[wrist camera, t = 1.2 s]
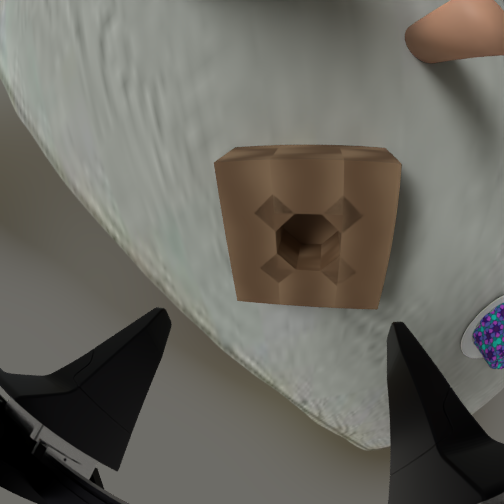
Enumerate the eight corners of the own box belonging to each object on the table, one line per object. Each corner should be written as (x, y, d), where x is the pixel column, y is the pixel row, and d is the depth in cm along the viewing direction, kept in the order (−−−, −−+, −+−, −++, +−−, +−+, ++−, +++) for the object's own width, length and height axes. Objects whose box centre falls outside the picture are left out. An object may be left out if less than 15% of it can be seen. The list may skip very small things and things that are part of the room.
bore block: (385, 148, 17) (401, 164, 13) (371, 273, 22) (377, 309, 19) (235, 147, 19) (213, 162, 16) (251, 267, 25) (237, 300, 22)
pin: (441, 29, 10) (507, 6, 3) (446, 67, 12) (519, 64, 4) (402, 20, 11) (453, -19, 4) (407, 59, 12) (467, 42, 5)
